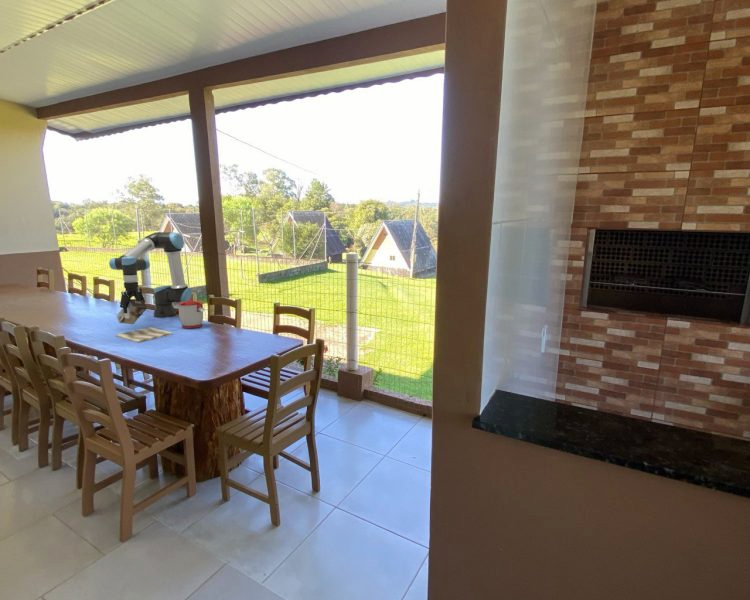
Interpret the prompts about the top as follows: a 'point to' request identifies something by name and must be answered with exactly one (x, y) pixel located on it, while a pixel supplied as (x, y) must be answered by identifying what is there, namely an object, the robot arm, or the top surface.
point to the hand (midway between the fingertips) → (134, 316)
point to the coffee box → (132, 312)
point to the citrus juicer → (191, 313)
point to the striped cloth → (144, 334)
